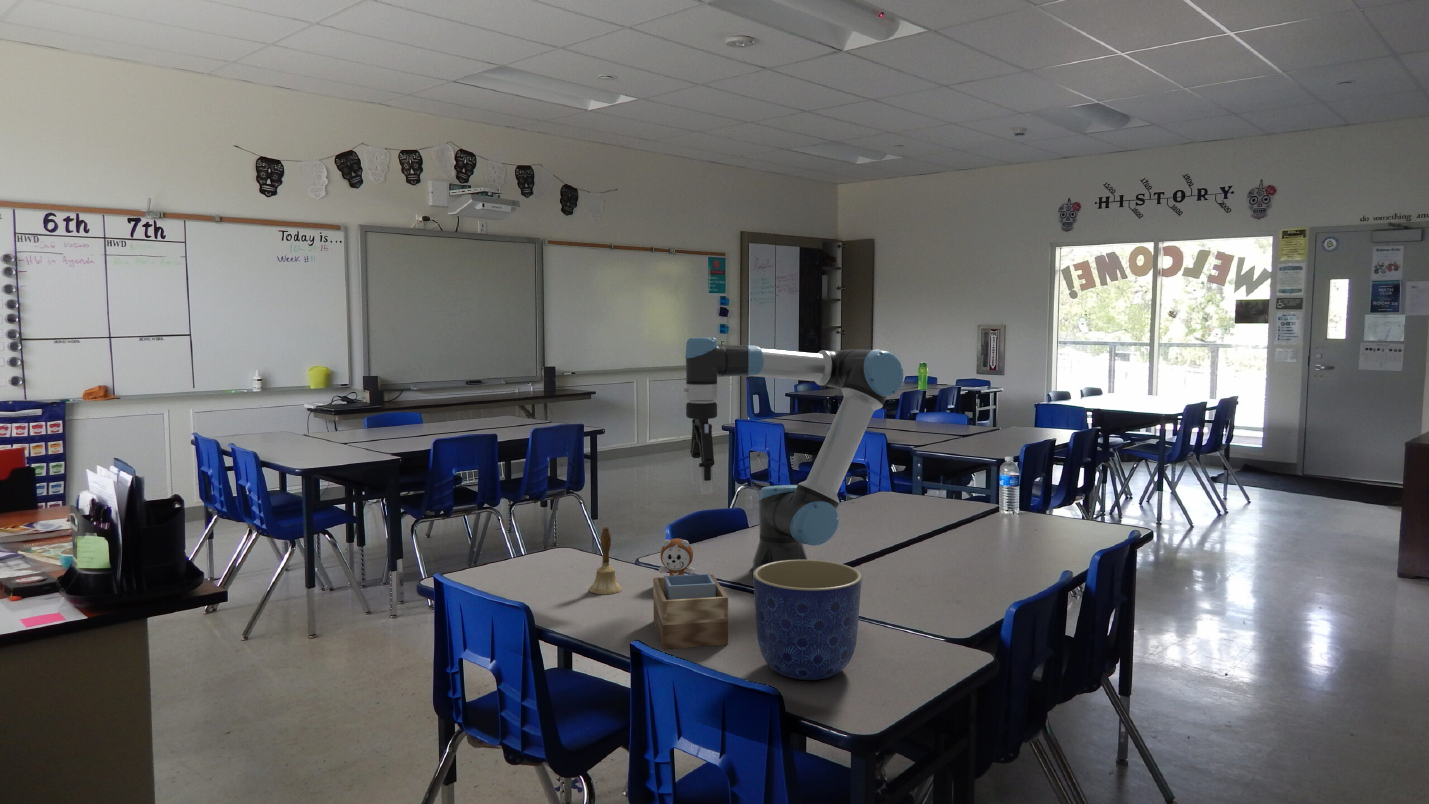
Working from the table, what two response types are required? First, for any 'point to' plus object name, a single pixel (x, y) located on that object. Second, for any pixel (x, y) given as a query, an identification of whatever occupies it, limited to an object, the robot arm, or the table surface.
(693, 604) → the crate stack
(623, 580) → the table surface
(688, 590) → the blue crate
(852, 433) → the robot arm
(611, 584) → the hand bell
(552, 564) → the table surface
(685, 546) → the figurine
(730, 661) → the table surface
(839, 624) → the planter
